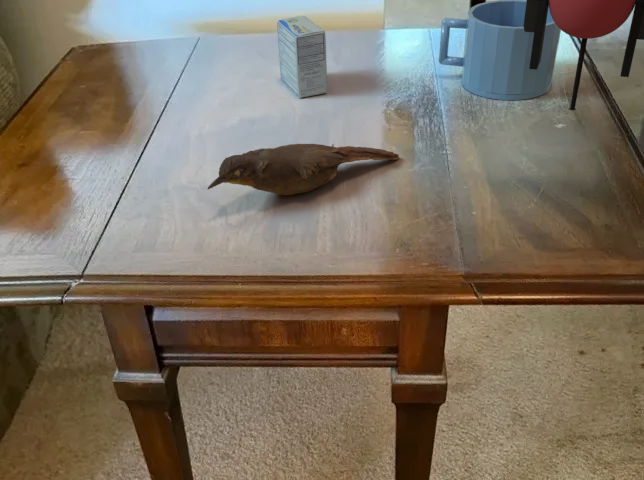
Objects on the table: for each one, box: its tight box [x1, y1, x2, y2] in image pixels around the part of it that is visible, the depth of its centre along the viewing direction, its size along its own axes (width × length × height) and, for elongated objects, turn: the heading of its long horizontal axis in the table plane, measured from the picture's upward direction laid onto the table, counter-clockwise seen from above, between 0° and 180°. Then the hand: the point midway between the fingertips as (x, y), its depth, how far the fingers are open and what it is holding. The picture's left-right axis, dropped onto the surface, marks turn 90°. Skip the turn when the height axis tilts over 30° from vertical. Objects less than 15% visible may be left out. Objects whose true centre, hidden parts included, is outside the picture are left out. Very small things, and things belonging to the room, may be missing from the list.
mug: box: [438, 0, 562, 101], centre depth 105 cm, size 16×12×10 cm
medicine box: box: [276, 15, 328, 99], centre depth 106 cm, size 8×4×9 cm, turn 20°
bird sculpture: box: [207, 143, 400, 196], centre depth 85 cm, size 7×25×5 cm, turn 122°
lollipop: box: [548, 0, 637, 111], centre depth 74 cm, size 8×8×15 cm
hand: (579, 67), depth 76 cm, fingers closed on lollipop, 8 cm apart
